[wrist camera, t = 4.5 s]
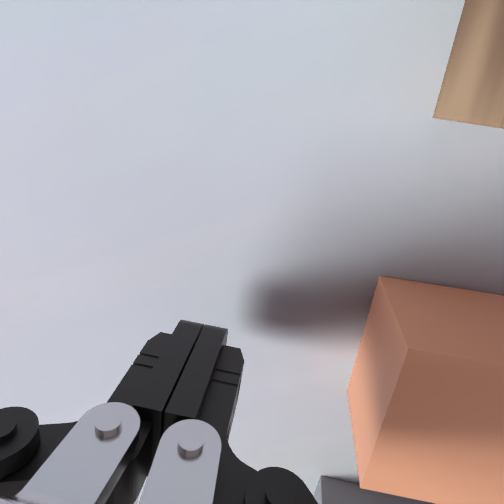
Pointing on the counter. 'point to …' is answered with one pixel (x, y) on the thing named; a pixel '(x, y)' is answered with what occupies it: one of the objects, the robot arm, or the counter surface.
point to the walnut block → (475, 68)
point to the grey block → (355, 494)
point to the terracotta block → (430, 394)
